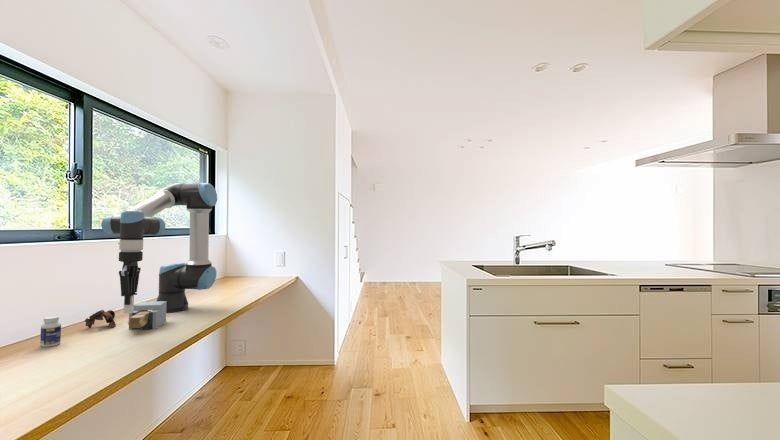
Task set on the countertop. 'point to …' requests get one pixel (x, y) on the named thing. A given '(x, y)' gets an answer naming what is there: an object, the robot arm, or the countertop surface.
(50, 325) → the pill bottle
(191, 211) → the robot arm
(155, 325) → the sleeve block
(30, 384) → the countertop surface
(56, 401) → the countertop surface
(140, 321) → the peg
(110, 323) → the brown curved piece
